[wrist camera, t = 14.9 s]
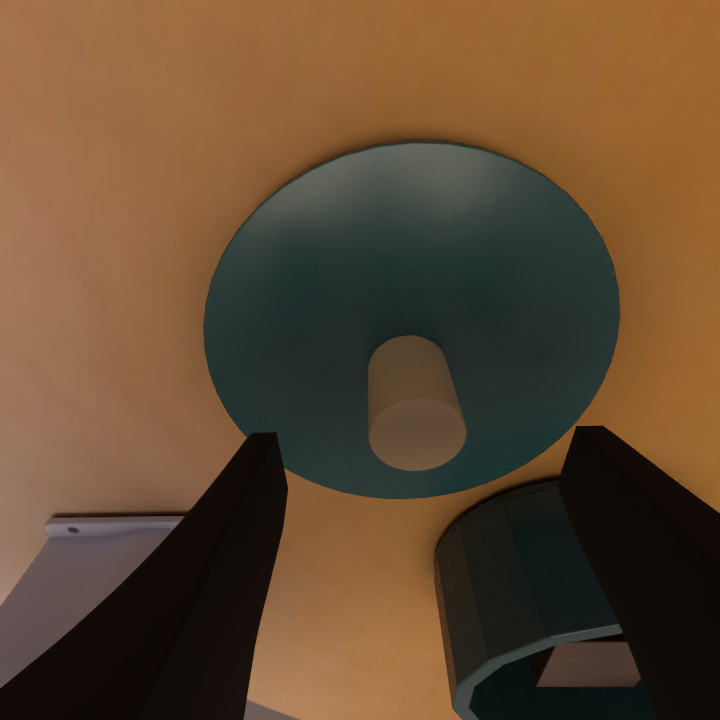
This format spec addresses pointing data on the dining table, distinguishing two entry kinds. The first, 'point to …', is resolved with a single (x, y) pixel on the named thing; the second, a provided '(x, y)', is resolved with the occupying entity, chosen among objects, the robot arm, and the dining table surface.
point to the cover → (412, 318)
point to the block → (586, 664)
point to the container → (522, 611)
